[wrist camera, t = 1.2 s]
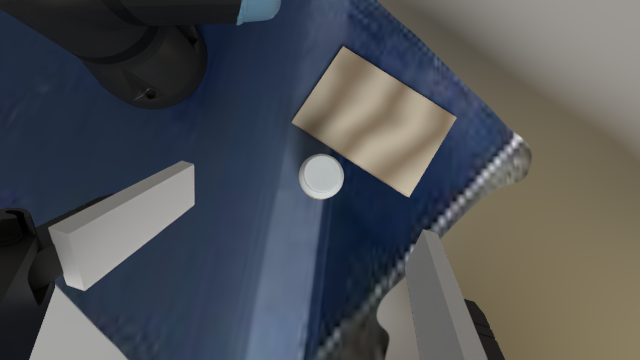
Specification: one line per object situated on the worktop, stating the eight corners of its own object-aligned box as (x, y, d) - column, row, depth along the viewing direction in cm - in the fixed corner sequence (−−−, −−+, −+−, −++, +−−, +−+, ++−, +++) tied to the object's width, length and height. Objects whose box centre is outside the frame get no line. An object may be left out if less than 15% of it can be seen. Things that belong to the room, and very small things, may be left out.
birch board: (292, 123, 37) (291, 121, 36) (342, 48, 38) (343, 46, 38) (407, 197, 37) (409, 197, 36) (454, 118, 38) (456, 117, 37)
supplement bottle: (301, 161, 37) (298, 146, 27) (338, 163, 37) (348, 149, 27) (299, 198, 36) (295, 197, 27) (337, 200, 36) (346, 199, 27)
